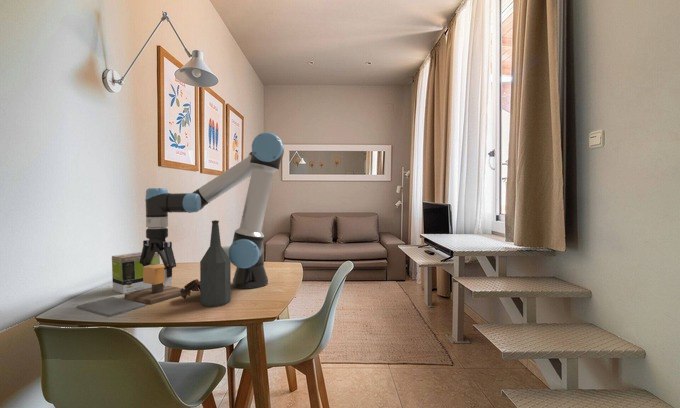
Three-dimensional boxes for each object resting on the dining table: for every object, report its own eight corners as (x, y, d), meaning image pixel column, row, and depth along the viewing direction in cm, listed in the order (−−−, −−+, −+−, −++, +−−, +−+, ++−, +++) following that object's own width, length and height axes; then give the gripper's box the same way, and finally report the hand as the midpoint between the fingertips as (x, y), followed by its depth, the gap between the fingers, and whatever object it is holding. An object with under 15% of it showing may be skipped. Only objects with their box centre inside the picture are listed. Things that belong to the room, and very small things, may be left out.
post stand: (189, 293, 135) (189, 267, 135) (151, 304, 121) (150, 275, 121) (163, 288, 143) (163, 263, 142) (124, 298, 128) (124, 270, 128)
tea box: (149, 283, 152) (149, 250, 151) (161, 286, 146) (160, 252, 146) (111, 290, 139) (111, 254, 139) (122, 294, 134) (121, 257, 133)
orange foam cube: (171, 280, 133) (171, 265, 133) (154, 284, 127) (154, 268, 127) (160, 278, 136) (160, 264, 136) (143, 282, 130) (143, 267, 130)
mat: (145, 306, 119) (145, 304, 119) (109, 316, 109) (109, 314, 109) (112, 298, 128) (112, 296, 128) (76, 307, 118) (76, 305, 118)
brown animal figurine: (206, 304, 123) (193, 285, 122) (185, 313, 125) (172, 296, 123) (219, 287, 135) (207, 270, 133) (199, 296, 137) (188, 279, 135)
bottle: (219, 308, 117) (218, 221, 116) (194, 306, 119) (194, 221, 119) (235, 299, 127) (235, 219, 126) (212, 297, 129) (212, 219, 129)
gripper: (128, 227, 133) (129, 282, 134) (168, 230, 123) (169, 289, 123) (147, 226, 140) (147, 278, 140) (186, 228, 129) (186, 285, 130)
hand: (157, 283), depth 132 cm, fingers open, 11 cm apart
